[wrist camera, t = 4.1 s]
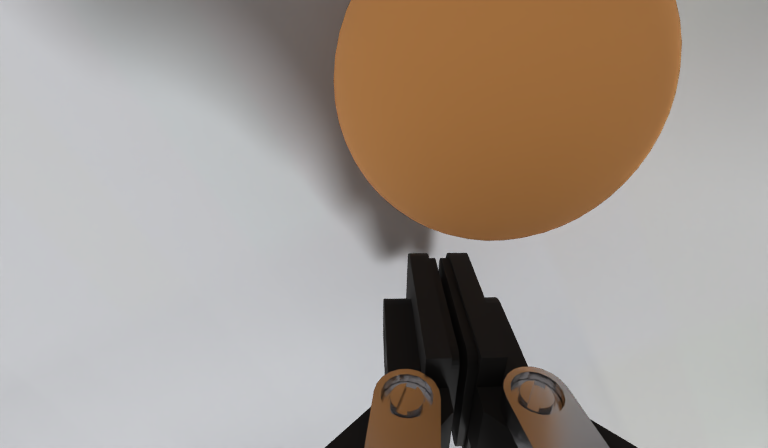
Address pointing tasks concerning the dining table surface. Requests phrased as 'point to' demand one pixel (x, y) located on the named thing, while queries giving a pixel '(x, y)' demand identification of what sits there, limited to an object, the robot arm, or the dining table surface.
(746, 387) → the dining table surface
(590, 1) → the ball
